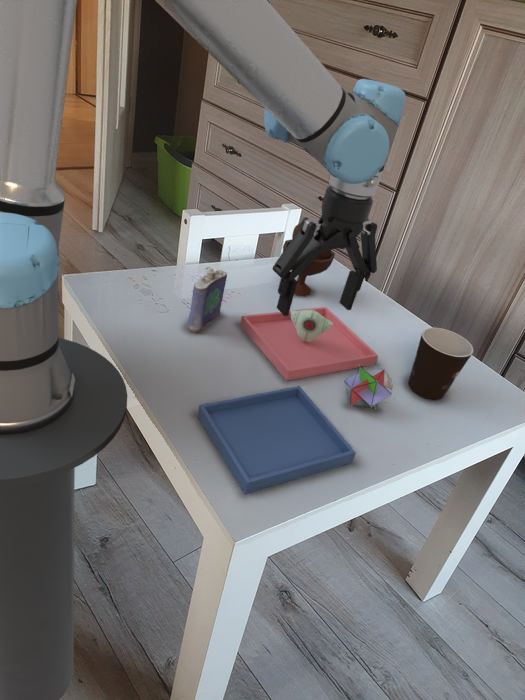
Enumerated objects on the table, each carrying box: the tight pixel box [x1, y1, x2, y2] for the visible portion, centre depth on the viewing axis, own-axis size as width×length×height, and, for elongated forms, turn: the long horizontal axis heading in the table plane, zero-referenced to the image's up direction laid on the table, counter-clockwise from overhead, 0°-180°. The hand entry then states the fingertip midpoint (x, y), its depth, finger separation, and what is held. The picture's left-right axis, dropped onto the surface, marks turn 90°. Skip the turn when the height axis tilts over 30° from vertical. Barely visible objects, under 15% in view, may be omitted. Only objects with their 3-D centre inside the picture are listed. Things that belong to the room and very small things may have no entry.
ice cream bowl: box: [282, 222, 336, 297], centre depth 114 cm, size 11×11×15 cm
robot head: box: [290, 310, 333, 342], centre depth 98 cm, size 8×4×7 cm, turn 77°
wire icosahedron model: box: [343, 365, 394, 410], centre depth 87 cm, size 7×7×8 cm
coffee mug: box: [407, 327, 474, 401], centre depth 94 cm, size 12×9×10 cm
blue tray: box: [197, 385, 357, 494], centre depth 77 cm, size 17×15×2 cm
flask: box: [187, 266, 228, 334], centre depth 97 cm, size 9×3×11 cm, turn 153°
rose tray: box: [240, 306, 379, 381], centre depth 100 cm, size 19×17×2 cm
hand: (314, 309), depth 96 cm, fingers open, 13 cm apart
